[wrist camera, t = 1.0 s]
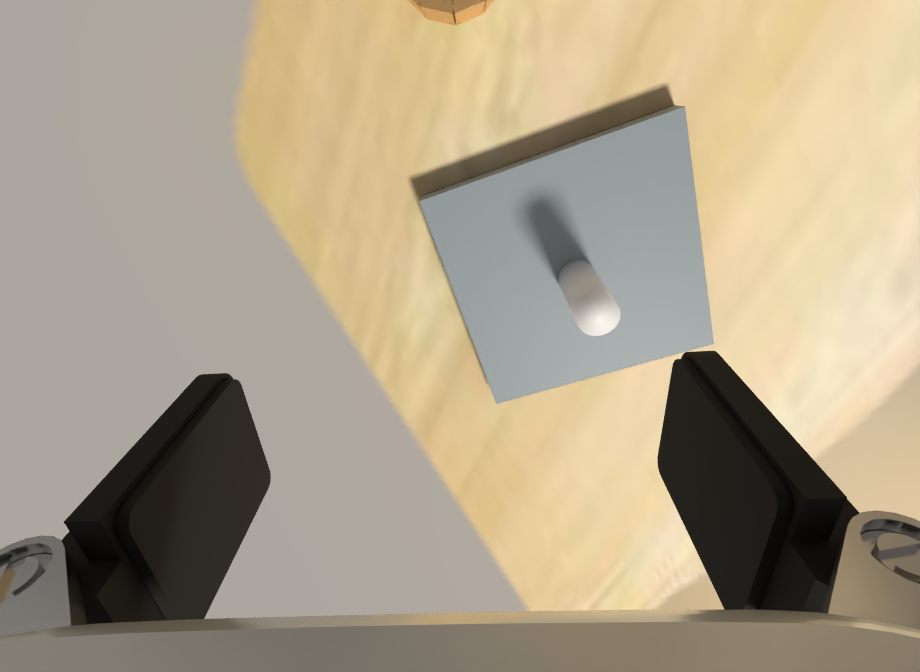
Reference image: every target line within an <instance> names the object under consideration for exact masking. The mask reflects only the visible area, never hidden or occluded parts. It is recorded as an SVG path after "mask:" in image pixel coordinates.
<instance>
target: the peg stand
mask: <svg viewBox="0 0 920 672" xmlns="http://www.w3.org/2000/svg"><path fill="white" fill-rule="evenodd" d="M419 203H420V205H421V208H422V211H423V213H424V216H425V219H426V221H427V224H428V226H429V229H430V232H431V234H432V237H433V239H434V242H435V245H436V247H437V250H438V252H439V255H440V258H441V260H442V263H443V266H444V268H445V271H446V273H447V276H448V279H449V281H450V284H451V286H452V289H453V292H454V294H455V297H456V300H457V302H458V305H459V307H460V310H461V313H462V315H463V318H464V320H465V323H466V326H467V328H468V331H469V333H470V336H471V339H472V341H473V344H474V347H475V349H476V352H477V354H478V357H479V360H480V362H481V365H482V367H483V370H484V373H485V375H486V378H487V380H488V383H489V386H490V388H491V391H492V394H493V396H494V399H495V401H496V404H498V403H501V402H505V401H509V400H512V399H516V398H519V397H523V396H527V395H530V394H534V393H538V392H541V391H545V390H548V389H552V388H556V387H559V386H563V385H567V384H570V383H574V382H577V381H581V380H585V379H588V378H592V377H596V376H599V375H603V374H606V373H610V372H614V371H617V370H621V369H625V368H628V367H632V366H635V365H639V364H643V363H646V362H650V361H654V360H657V359H661V358H664V357H668V356H672V355H675V354H679V353H683V352H686V351H690V350H693V349H697V348H701V347H704V346H708V345H712V344H714V341H713V333H712V325H711V316H710V308H709V300H708V292H707V284H706V276H705V267H704V259H703V251H702V243H701V235H700V227H699V218H698V210H697V202H696V194H695V186H694V178H693V169H692V161H691V153H690V145H689V137H688V129H687V120H686V112H685V106H676V105H674V106H671V107H669V108H666V109H663V110H660V111H658V112H655V113H652V114H649V115H646V116H644V117H641V118H638V119H635V120H632V121H630V122H627V123H624V124H621V125H618V126H616V127H613V128H610V129H607V130H605V131H602V132H599V133H596V134H593V135H591V136H588V137H585V138H582V139H579V140H577V141H574V142H571V143H568V144H566V145H563V146H560V147H557V148H554V149H552V150H549V151H546V152H543V153H540V154H538V155H535V156H532V157H529V158H527V159H524V160H521V161H518V162H515V163H513V164H510V165H507V166H504V167H501V168H499V169H496V170H493V171H490V172H488V173H485V174H482V175H479V176H476V177H474V178H471V179H468V180H465V181H462V182H460V183H457V184H454V185H451V186H449V187H446V188H443V189H440V190H437V191H435V192H432V193H429V194H426V195H423V196H421V198H420V200H419Z"/></svg>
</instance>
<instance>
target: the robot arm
mask: <svg viewBox="0 0 920 672" xmlns="http://www.w3.org/2000/svg"><path fill="white" fill-rule="evenodd" d="M658 468H659V472H660V475H661V477H662V479H663V481H664V483H665V485H666V488H667V490H668V492H669V494H670V496H671V498H672V500H673V502H674V504H675V506H676V508H677V511H678V513H679V515H680V517H681V519H682V521H683V523H684V525H685V527H686V529H687V532H688V534H689V536H690V538H691V540H692V542H693V544H694V546H695V548H696V550H697V553H698V555H699V557H700V559H701V561H702V563H703V565H704V567H705V569H706V571H707V574H708V576H709V578H710V580H711V582H712V584H713V586H714V588H715V590H716V592H717V594H718V597H719V599H720V601H721V603H722V605H723V607H724V609H725V610H604V611H538V612H486V613H485V612H483V613H482V612H481V613H432V614H386V615H339V616H304V617H303V616H300V617H267V618H266V617H262V618H225V619H204V618H205V616H206V614H207V611H208V609H209V607H210V606H211V604H212V601H213V599H214V597H215V595H216V593H217V591H218V589H219V587H220V585H221V583H222V581H223V579H224V577H225V575H226V573H227V571H228V569H229V567H230V565H231V563H232V561H233V559H234V557H235V555H236V553H237V550H238V549H239V547H240V545H241V542H242V541H243V539H244V537H245V535H246V533H247V530H248V528H249V526H250V524H251V522H252V520H253V518H254V516H255V514H256V512H257V510H258V508H259V506H260V504H261V502H262V500H263V498H264V496H265V494H266V492H267V490H268V488H269V485H270V470H269V467H268V464H267V461H266V458H265V455H264V452H263V449H262V446H261V443H260V440H259V437H258V434H257V431H256V428H255V425H254V422H253V419H252V416H251V413H250V410H249V407H248V404H247V401H246V398H245V395H244V392H243V389H242V386H241V384H240V382H239V381H238V380H236V379H234V380H233V378H232V377H231V376H230V374H227V373H223V374H202V375H199V376H198V377H196V378H195V380H194V381H193V382H192V383H191V384H190V385H189V386H188V387H187V388H186V389H185V390H184V391H183V393H182V394H181V395H180V396H179V397H178V398H177V399H176V400H175V401H174V402H173V404H171V406H170V407H169V408H168V409H167V410H166V411H165V412H164V413H163V415H162V416H160V418H159V419H158V420H157V421H156V422H155V423H154V424H153V425H152V426H151V427H150V428H149V430H148V431H147V432H146V433H145V434H144V435H143V436H142V437H141V439H139V440H138V442H137V443H136V444H135V445H134V446H133V447H132V448H131V449H130V450H129V451H128V453H127V454H126V455H125V456H124V457H123V458H122V459H121V460H120V461H119V462H118V464H117V465H116V466H115V467H114V468H113V469H112V470H111V471H110V472H109V473H108V475H107V476H106V477H105V478H104V479H103V480H102V481H101V482H100V483H99V484H98V485H97V486H96V488H95V489H94V490H93V491H92V492H91V493H90V494H89V495H88V496H87V497H86V498H85V499H84V501H83V502H82V503H81V504H80V505H79V506H78V507H77V509H75V511H73V513H72V514H71V515H70V516H69V517H68V518H67V519H66V520H65V521H64V523H65V524H66V526H67V528H68V529H69V531H70V532H69V533H68V534H67V535H66V536H65V537H64V538H63V540H62V541H61V540H60V539H58V538H56V537H54V536H37V537H32V538H27V539H24V540H21V541H18V542H16V543H13V544H10V545H8V546H7V547H4V548H2V549H1V550H0V672H920V521H918V520H916V519H913V518H910V517H907V516H903V515H900V514H897V513H892V512H884V511H868V512H862V513H859V512H858V511H857V510H856V509H855V507H854V506H853V505H852V504H851V503H850V502H849V501H848V500H847V497H846V496H845V495H844V494H843V492H842V491H841V490H840V489H839V488H838V487H837V486H836V485H835V483H834V482H833V481H832V480H831V479H830V478H829V477H828V476H827V475H826V473H825V472H824V471H823V470H822V469H821V468H820V467H819V466H818V465H817V463H816V462H815V461H814V460H813V459H812V458H811V457H810V456H809V454H808V453H807V452H806V451H805V450H804V449H803V448H802V447H801V445H800V444H799V443H798V442H797V441H796V440H795V439H794V438H793V437H792V435H791V434H790V433H789V432H788V431H787V430H786V429H785V428H784V426H783V425H782V424H781V423H780V422H779V421H778V420H777V419H776V418H775V416H774V415H773V414H772V413H771V412H770V411H769V410H768V409H767V408H766V406H765V405H764V404H763V403H762V402H761V401H760V400H759V399H758V397H757V396H756V395H755V394H754V393H753V392H752V391H751V390H750V389H749V387H748V386H747V385H746V384H745V383H744V382H743V381H742V380H741V378H740V377H739V376H738V375H737V374H736V373H735V372H734V371H733V370H732V368H731V367H730V366H729V365H728V364H727V363H726V362H725V361H724V359H723V358H722V357H721V356H720V355H719V354H718V353H717V352H716V351H700V352H686V353H684V354H683V356H682V358H681V359H676V360H675V361H674V363H673V367H672V373H671V379H670V385H669V391H668V397H667V404H666V410H665V416H664V422H663V428H662V434H661V440H660V446H659V452H658Z"/></svg>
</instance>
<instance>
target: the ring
mask: <svg viewBox="0 0 920 672" xmlns="http://www.w3.org/2000/svg"><path fill="white" fill-rule="evenodd" d="M409 1H410V2H411V3H412V4H413V5H414V6H415V7H416V8H417V9H418V10H419V11H420V12H421V13H422V14H423V15H424V16H425V17H426V18H428V19H430V20H434V21H439V22H443V23H448V24H452V25H455V21H456V24H457V25H458V24H460V23H462V22H465V21H467V20H470V19H472V18H474V17H477V16H479V15H482V14H483V12H485V11H486V10H487V8H488V7H489V6H490V4H491V3H492V2H493V0H409Z"/></svg>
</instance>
